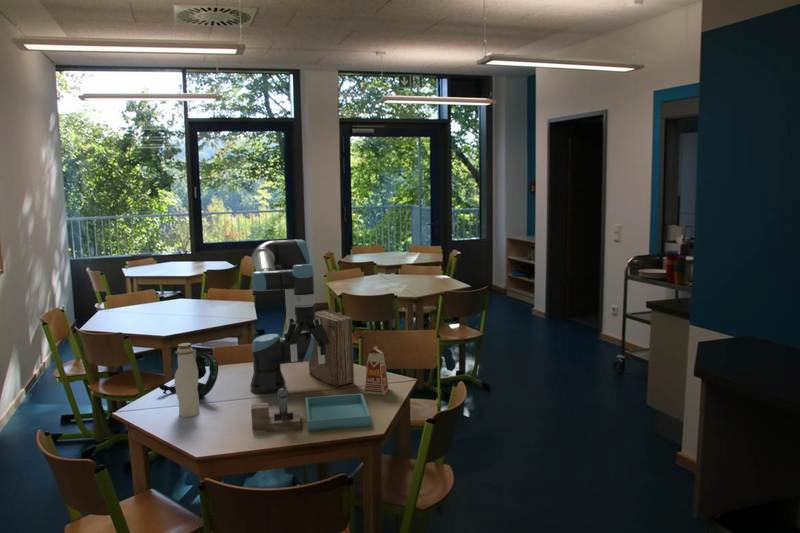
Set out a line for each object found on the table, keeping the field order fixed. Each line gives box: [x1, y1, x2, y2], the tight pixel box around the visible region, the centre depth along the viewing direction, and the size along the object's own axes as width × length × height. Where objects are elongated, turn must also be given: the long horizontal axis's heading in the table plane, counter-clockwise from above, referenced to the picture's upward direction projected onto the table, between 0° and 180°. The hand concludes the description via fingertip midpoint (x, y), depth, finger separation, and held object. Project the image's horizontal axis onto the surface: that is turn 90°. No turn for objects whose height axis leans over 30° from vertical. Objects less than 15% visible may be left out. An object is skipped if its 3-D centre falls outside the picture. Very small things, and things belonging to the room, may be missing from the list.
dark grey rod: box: [276, 387, 289, 420], centre depth 247 cm, size 4×4×14 cm
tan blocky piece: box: [250, 402, 301, 433], centre depth 247 cm, size 12×18×8 cm
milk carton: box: [363, 345, 389, 395], centre depth 283 cm, size 9×9×20 cm
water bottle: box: [174, 342, 200, 418], centre depth 261 cm, size 10×9×28 cm
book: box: [308, 308, 355, 389], centre depth 300 cm, size 25×9×30 cm, turn 35°
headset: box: [158, 353, 219, 398], centre depth 281 cm, size 18×14×29 cm
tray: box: [304, 392, 372, 433], centre depth 255 cm, size 26×23×4 cm
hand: (307, 362), depth 248 cm, fingers open, 13 cm apart
